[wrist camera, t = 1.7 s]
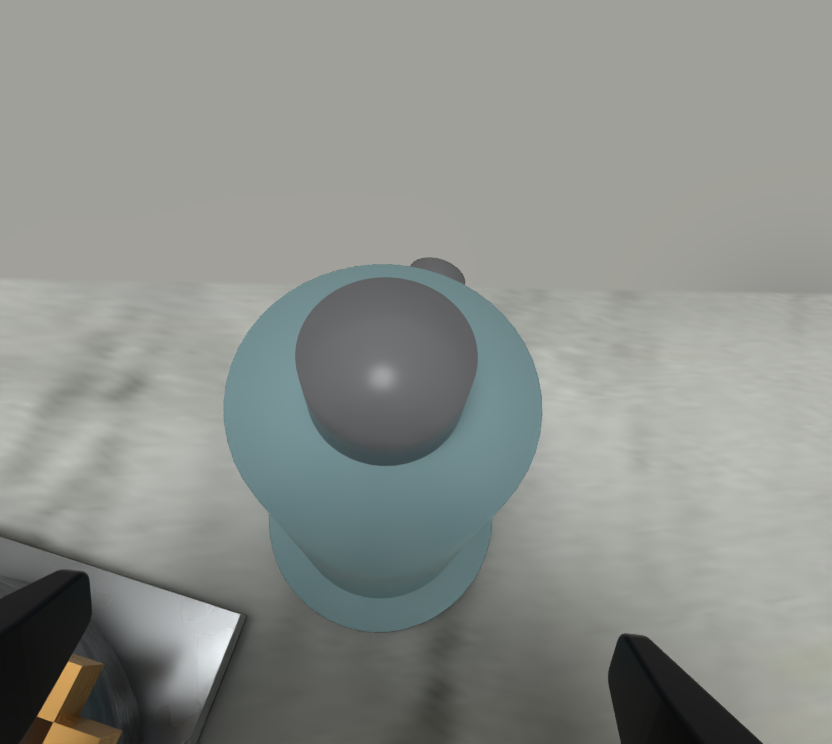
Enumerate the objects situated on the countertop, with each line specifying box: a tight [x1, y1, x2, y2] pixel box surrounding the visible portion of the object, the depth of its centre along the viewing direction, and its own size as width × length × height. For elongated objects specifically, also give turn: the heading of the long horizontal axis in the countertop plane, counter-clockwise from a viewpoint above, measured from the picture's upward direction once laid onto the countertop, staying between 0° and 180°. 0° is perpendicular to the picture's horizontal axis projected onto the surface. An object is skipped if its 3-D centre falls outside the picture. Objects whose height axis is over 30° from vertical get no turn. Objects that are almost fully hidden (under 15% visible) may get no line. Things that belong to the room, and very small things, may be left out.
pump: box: [224, 258, 542, 633], centre depth 15 cm, size 9×8×13 cm
